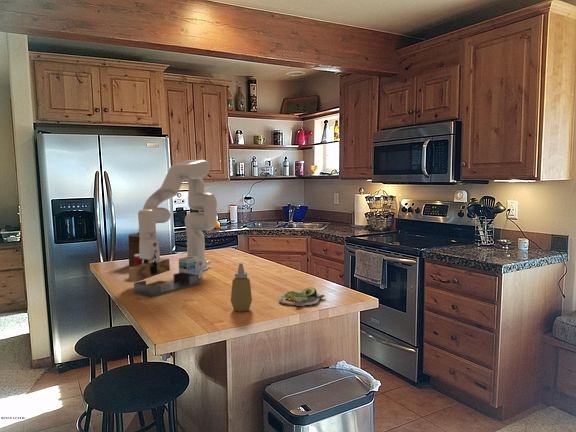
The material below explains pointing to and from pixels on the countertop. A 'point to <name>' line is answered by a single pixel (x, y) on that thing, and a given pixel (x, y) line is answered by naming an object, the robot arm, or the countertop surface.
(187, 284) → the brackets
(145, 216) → the robot arm
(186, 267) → the light bulb box
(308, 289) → the salad plate
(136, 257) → the canned food
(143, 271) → the rail
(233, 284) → the squeeze bottle
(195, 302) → the countertop surface
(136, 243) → the wooden container
